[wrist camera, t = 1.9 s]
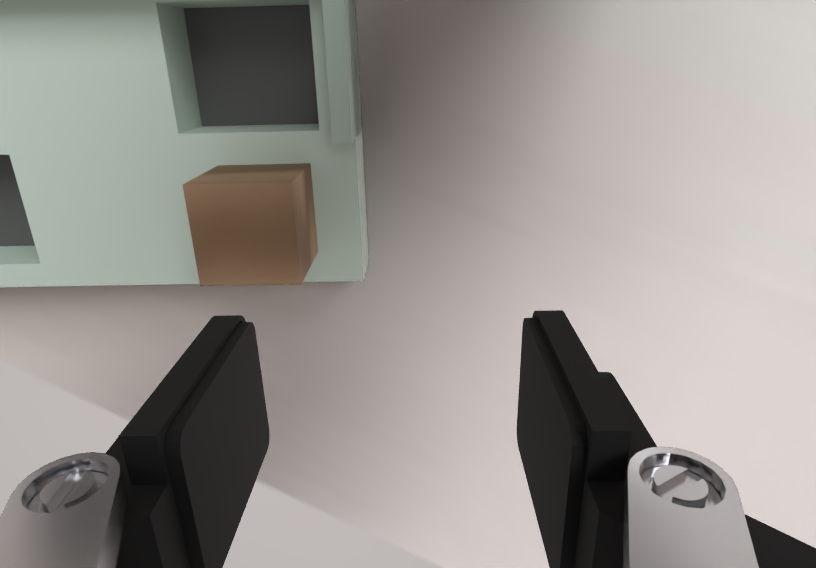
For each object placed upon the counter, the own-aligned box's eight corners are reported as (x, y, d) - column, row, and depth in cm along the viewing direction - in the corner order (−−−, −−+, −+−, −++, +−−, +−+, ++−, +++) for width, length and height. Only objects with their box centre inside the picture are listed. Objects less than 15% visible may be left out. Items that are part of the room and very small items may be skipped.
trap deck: (-148, -12, 25) (-257, -25, 21) (353, -27, 24) (340, -43, 20) (-50, 267, 29) (-123, 299, 25) (368, 259, 29) (361, 292, 25)
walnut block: (218, 165, 24) (182, 184, 21) (310, 163, 24) (291, 182, 20) (231, 253, 26) (200, 285, 22) (318, 251, 26) (301, 284, 22)
